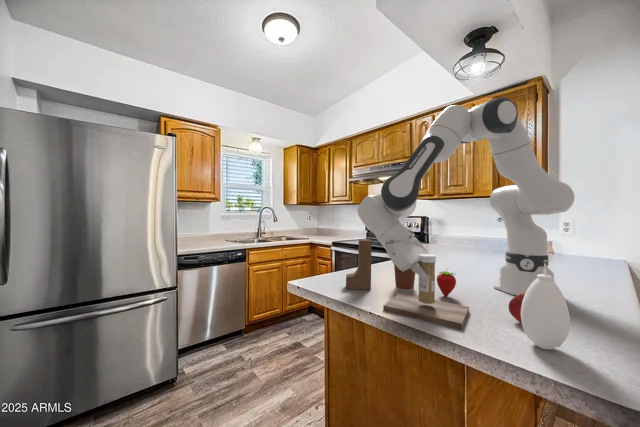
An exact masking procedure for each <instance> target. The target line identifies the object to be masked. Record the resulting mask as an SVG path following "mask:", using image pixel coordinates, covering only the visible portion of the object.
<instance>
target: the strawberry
mask: <svg viewBox="0 0 640 427" xmlns="http://www.w3.org/2000/svg"><path fill="white" fill-rule="evenodd" d="M448 269H449V268H447V269H446V271H444V270H443V271H438V273H439V274H438V275H437V276H436V283H437V286H438V289H439V290H440V292H441V293H442V295H443V296H444V297H445V298H446V297H448V296H449V295H450V294H451V293H452V292H453V291H454V289H455V288H456V285H457V279H456V277H455V276H454V275H455V273H453V272H449V271H448Z"/></svg>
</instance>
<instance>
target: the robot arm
mask: <svg viewBox="0 0 640 427" xmlns="http://www.w3.org/2000/svg"><path fill="white" fill-rule="evenodd" d="M485 139H486V141H488V144H489V147H490V151H491V155H492V157H493V161H494V163H495V166H496V171H497V172H498V175H500V176H502V177H503V178H505V179H508V180H510V181H512V182H513V184H510V185H505V186H502V187H498V188H495V189H494V190H493V191H492V192H491V194H490V196H489V204H490V207H491V208H492V209H493V211H495V212H496V213H497V214H498V215H499V216H500V218H501V220H502V222H503V224H504V226H505V229H506V241H507V242H506V244H507V245H506V247H507V250H506V251H505V255H504V257H505V263H504V264H503V265H502V266H501V267H500V269H499V275H500V276H499V282H497V283H496V284H494V285H493V289H495V290H500V291H502V292H505V293H507V294H510V295H513V296H519V295H520V292H523V293H526V291H527V289H528V288H529V286H530V285H531V284H532V282H533V281H534V280H536V279H537V275H538V274H543V273H544V264H545V263H546V273H547V275H550V276H552V277H553V281H554V282H555V273H554V272H553V271H552V270H551V269H550V268H549V267H548V266H549V262H550V260H549V255H548V234H547V232H546V230H545V229H543V228H542V227H540V226H539V225H537V224H536V223H535V222H534V220H533V217H532V215H533V216H534V215H537V216H538V215H541V216H542V215H543V216H544V215H546V216H549V215H555V214H559V213H560V214H561V213H566V212H568V211H569V209H571V207H572V206H573V205H574V202H575V193H574V190H573V189H572V187H571V186H570V185H569V184H567V183H566V182H562V181H561V180H558V179H555V178H554V177H553V176H552V175H550V174H549V173H548V172H547V171H546V170H545V169H544V168H543V167H542V166H541V164H540V163H539V161H538V159H537V157H536V154H535V152H534V151H535V150H534V148H533V146H532V145H533V144H532V142H531V139H530V137H529V134H528V131H527V130H526V128H525V126H524V124H523V122H522V121H521V120H520V118H519V110H518V107H517V105H516V103H515V102H514V101H513V100H511V99H510V98H508V97H504V96H503V97H497V98H493V99H491V100H489V101H486V102H483V103H480V104H478V105H475V106H473V107H472V108H471V109H468V108H467V107H466V106H463V105H459V104H454V105H449V106H447V107H446V108H444V110H443V111H441V112H440V113H439V115H438V116H437V117H436V118H435V120H434V121H433V122H432V123H431V124H430V126H429V127H428V129H426V132H425V133H424V135H423V137H422V138H421V140H420V143H419V144H418V146H417V148H416V149H415V150H414V151H413V153H412V154H411V156H409V158H408V159H407V161H406V162H405V163H404V164H403V166H402V167H401V168H400V170H398V171H397V172H395V173H394V174H393V175H391V176H389V177H388V178H387V179H386V180H384V182H383V185H382V186H381V191H380V194H369V195H367V196H365V197H364V198H362V200H361V201H360V202H359V205H358V206H357V215H358V217H359V219H360V220H361V222H362V224H363V225H364V226H365V227H366V228H367V229H368V230H369V231H370V232H371V233H372V234H373V235H374V236H375V237H376V240H377V241H378V242H379V244H380V245H382V247H383V248H384V249H385V250H386V254H387V256H388V257H389V258H390V260H391V262H392V261H393V262H394V263H393V265H394V264H395V265H396V266H397V267H398V269H400V270H401V271H403V272H404V271H405V270H407V269H409V268H410V269H411V270H412V271H413V272H415V275H418V277H419V276H420V277H421V278H422V279H423V280H424V279H426V278H427V277H428V276H429V274H428V273H427V272H426V271H424V270H423V269H422V268H421V267H420V266H419V261H420V259H419V254H429V252H428V250H427V249H426V247H425V246H424V245H423V244H422V242H420V240H418V238H417V237H415V235H416V234H415V233H414V232H413V231H412V230H410V229H409V228H407V227H406V226H404V225H403V224H402V223H401V222H402V221H404V220H405V219H406V218H408V217H410V216H412V214H413V213H414V212H415V211H416V208H417V199H418V197H419V190H420V184H421V181H422V180H423V178H424V177H425V175H426V174H427V172H429V170H430V168H431V167H432V165H433V164H434V163H443V162H446V161H447V160H448V159H450V157H452V156H453V154H454V153H455V151H457V149H458V148H459V146H460V145H461V144H469V143H473V142H477V141H481V140H485Z"/></svg>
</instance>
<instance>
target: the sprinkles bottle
mask: <svg viewBox="0 0 640 427" xmlns="http://www.w3.org/2000/svg"><path fill="white" fill-rule="evenodd" d="M436 258H437V256H436V255H435V254H431V253H428V254H419V259H420V261H419V266H420V267H421V268H422V269H423V270H424V271H426V272H427V273H428V274H429V276H428V277H427V278H426V279H424V280H423V279H422V278H421V277H420V276H419V275H418V297H419V298H418V300H419V301H420V302H422V303H426V304H432V303H435V298H436V295H435V293H436V291H435V290H436V274H435V271H436V269H435V268H436V263H437V262H436V261H437V259H436Z"/></svg>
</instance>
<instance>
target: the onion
mask: <svg viewBox="0 0 640 427" xmlns="http://www.w3.org/2000/svg"><path fill="white" fill-rule="evenodd" d="M524 295H525V293H523V292H520V295H519V296H517V295H515V296H514V297H513V298H511V299H510V300H509V302H508V312H509V313H510V315H511V317H513V318H514V319H515V320H516V321H518V322H519V323H520V324H522V321H521V306H522V301H523V298H524Z"/></svg>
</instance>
